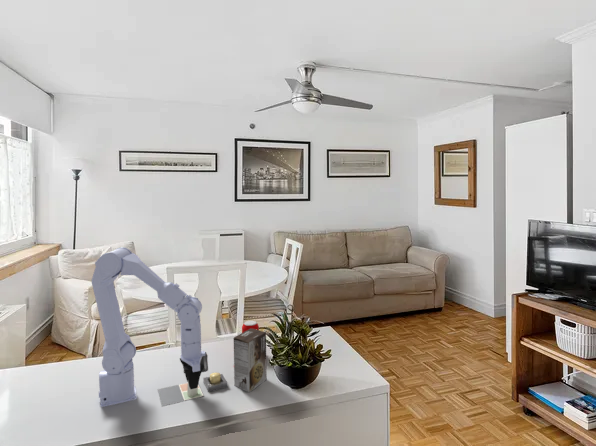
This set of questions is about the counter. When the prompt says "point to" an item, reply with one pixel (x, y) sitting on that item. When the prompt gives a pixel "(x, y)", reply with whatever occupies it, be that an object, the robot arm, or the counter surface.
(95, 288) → the robot arm
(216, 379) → the button
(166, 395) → the picture board
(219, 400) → the counter surface
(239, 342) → the coffee box
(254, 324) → the beverage can
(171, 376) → the counter surface
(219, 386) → the button collar
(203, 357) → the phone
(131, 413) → the counter surface
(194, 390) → the marker
